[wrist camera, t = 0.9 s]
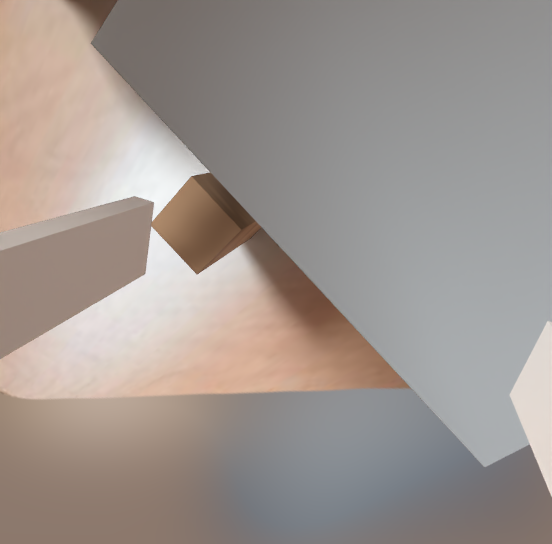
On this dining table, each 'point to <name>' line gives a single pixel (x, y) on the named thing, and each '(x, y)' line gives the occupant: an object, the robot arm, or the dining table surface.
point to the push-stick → (204, 222)
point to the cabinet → (380, 168)
